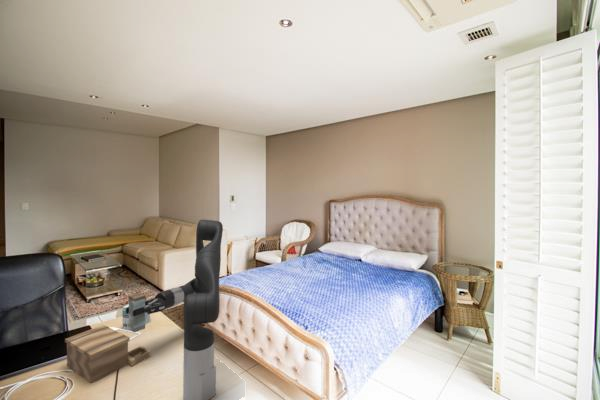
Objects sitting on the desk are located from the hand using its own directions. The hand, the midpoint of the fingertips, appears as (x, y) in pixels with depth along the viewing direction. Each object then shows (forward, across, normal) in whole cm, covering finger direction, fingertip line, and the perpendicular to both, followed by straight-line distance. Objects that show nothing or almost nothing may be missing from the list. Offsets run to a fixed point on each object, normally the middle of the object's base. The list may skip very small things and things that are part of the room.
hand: (129, 312), depth 105 cm
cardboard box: (+3, -7, +19) cm, 21 cm away
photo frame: (-5, -24, +20) cm, 31 cm away
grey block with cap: (-3, 0, +8) cm, 8 cm away
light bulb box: (-18, -26, +19) cm, 37 cm away
